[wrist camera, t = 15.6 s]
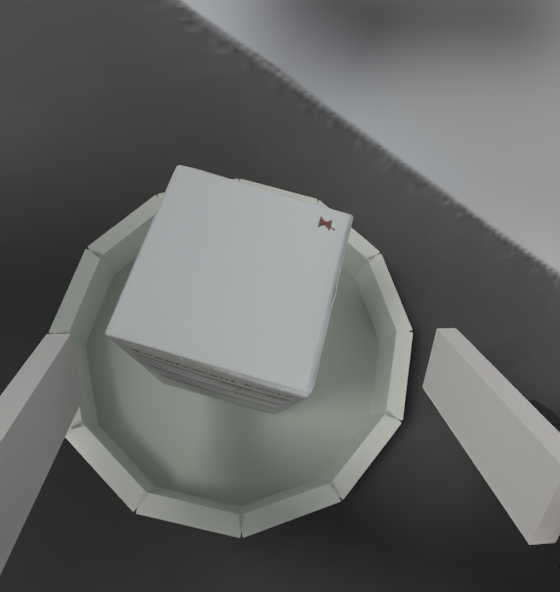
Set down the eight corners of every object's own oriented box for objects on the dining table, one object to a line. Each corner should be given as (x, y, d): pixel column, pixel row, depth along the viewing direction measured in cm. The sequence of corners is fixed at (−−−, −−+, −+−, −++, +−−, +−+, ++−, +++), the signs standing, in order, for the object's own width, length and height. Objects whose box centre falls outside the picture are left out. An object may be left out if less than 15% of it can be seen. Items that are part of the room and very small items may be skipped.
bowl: (22, 472, 24) (-16, 477, 20) (141, 185, 31) (129, 149, 27) (361, 552, 24) (385, 572, 21) (401, 253, 31) (425, 227, 28)
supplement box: (199, 277, 28) (177, 154, 16) (305, 309, 28) (362, 211, 16) (157, 385, 25) (95, 333, 13) (275, 420, 25) (316, 400, 13)
